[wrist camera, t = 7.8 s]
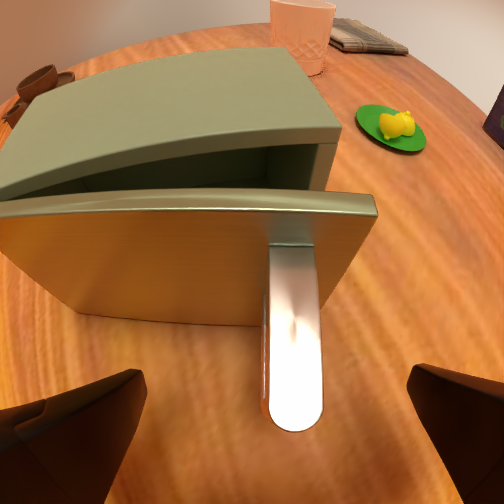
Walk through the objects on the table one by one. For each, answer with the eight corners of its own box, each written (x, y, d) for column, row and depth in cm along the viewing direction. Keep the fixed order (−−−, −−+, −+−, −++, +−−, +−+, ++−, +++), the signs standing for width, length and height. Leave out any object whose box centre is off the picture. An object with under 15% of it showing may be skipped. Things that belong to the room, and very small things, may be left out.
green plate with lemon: (418, 167, 23) (430, 146, 21) (344, 130, 25) (350, 106, 23) (427, 131, 27) (436, 113, 24) (366, 101, 29) (371, 81, 26)
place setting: (104, 70, 35) (96, 39, 30) (37, 152, 25) (17, 113, 20) (30, 91, 35) (20, 67, 30) (-33, 170, 25) (-51, 143, 20)
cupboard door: (312, 416, 14) (410, 423, 5) (64, 390, 14) (-70, 344, 5) (309, 313, 17) (373, 193, 8) (78, 301, 17) (-24, 204, 8)
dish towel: (410, 57, 41) (414, 44, 38) (342, 54, 37) (345, 37, 34) (351, 25, 49) (353, 14, 46) (285, 23, 45) (286, 10, 43)
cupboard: (300, 269, 18) (343, 126, 9) (78, 298, 17) (-25, 197, 8) (273, 176, 22) (284, 46, 13) (92, 204, 21) (35, 96, 12)
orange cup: (265, 55, 35) (267, -6, 26) (319, 58, 35) (327, -1, 26) (269, 76, 31) (272, 3, 22) (332, 81, 31) (344, 11, 22)
